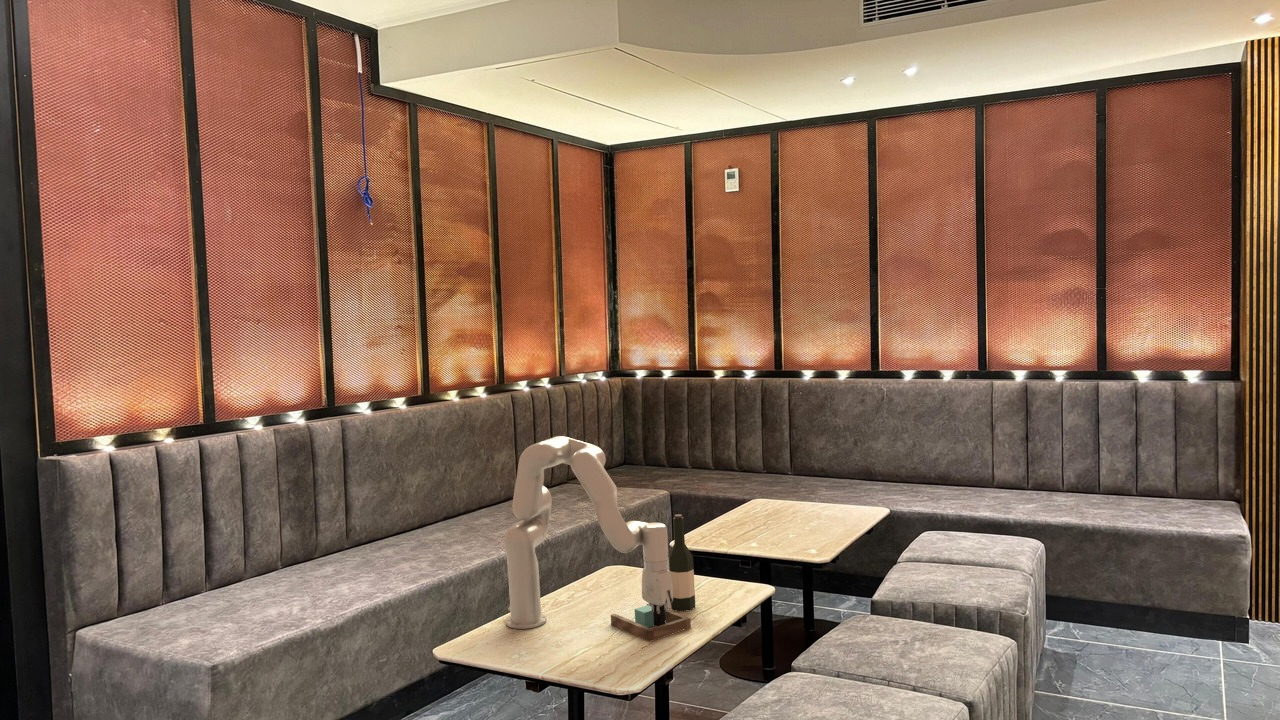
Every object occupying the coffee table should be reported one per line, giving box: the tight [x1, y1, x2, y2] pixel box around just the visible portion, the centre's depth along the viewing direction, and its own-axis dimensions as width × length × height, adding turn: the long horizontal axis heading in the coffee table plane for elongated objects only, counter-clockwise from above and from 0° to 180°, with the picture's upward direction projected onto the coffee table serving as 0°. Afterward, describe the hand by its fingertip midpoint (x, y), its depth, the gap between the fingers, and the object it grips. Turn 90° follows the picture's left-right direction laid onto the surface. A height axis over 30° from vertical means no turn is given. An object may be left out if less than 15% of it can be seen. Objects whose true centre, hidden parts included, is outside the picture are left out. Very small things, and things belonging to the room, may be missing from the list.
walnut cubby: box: [610, 603, 692, 642], centre depth 266 cm, size 20×16×3 cm
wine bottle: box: [668, 513, 696, 612], centre depth 281 cm, size 8×8×30 cm
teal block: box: [634, 604, 655, 628], centre depth 267 cm, size 5×5×5 cm
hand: (659, 624), depth 262 cm, fingers closed
